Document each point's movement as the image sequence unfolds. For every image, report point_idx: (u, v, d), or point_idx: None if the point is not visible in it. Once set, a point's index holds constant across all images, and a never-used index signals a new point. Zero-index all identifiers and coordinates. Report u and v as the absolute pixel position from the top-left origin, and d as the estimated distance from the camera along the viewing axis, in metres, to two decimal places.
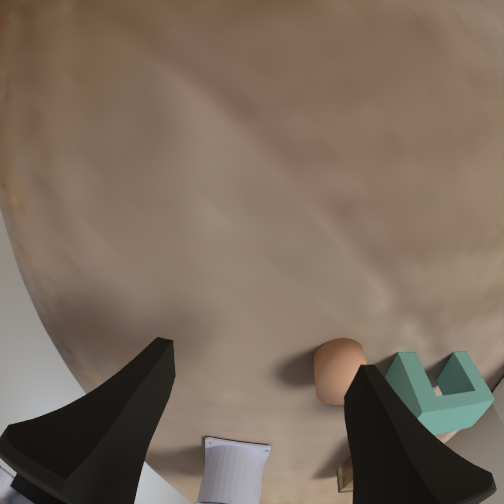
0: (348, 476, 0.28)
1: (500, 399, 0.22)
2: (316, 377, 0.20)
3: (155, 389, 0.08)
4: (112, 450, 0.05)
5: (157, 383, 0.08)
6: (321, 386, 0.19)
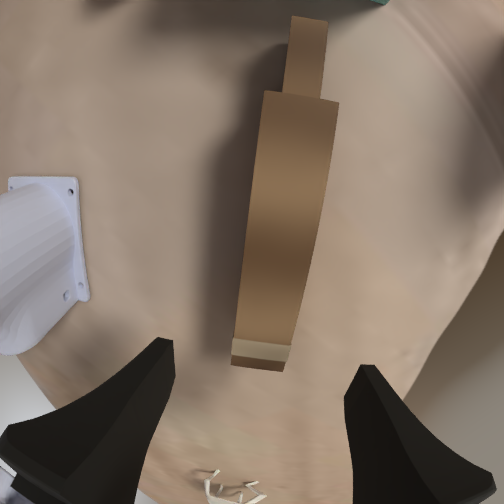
0: None
1: None
2: None
3: (154, 388, 0.08)
4: (112, 450, 0.05)
5: (157, 383, 0.08)
6: None
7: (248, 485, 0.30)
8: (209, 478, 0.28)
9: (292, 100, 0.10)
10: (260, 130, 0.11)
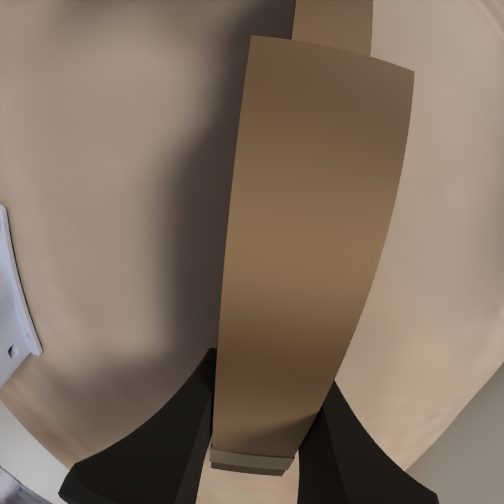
0: None
1: None
2: None
3: None
4: (189, 473, 0.05)
5: None
6: None
7: None
8: None
9: (316, 57, 0.04)
10: (242, 124, 0.05)
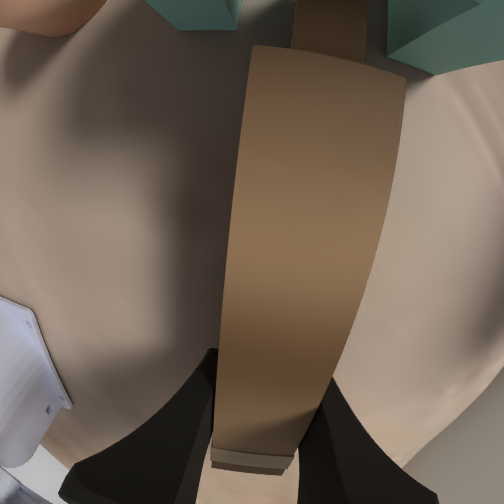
0: None
1: None
2: None
3: (214, 402, 0.08)
4: (189, 473, 0.05)
5: None
6: None
7: None
8: None
9: (313, 65, 0.04)
10: (244, 128, 0.05)
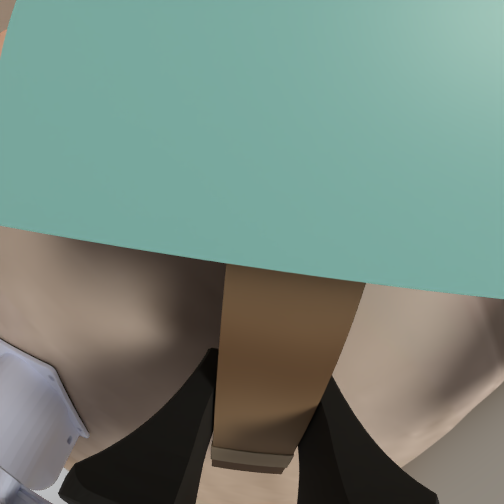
0: None
1: None
2: None
3: (214, 402, 0.08)
4: (190, 473, 0.05)
5: None
6: None
7: None
8: None
9: None
10: None
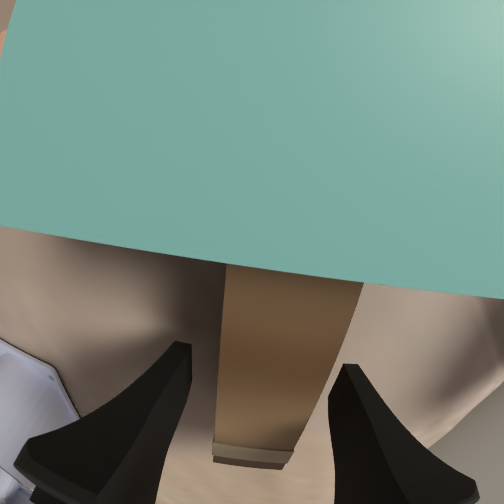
0: None
1: None
2: None
3: (175, 394, 0.08)
4: (137, 459, 0.05)
5: (177, 388, 0.08)
6: None
7: None
8: None
9: None
10: None
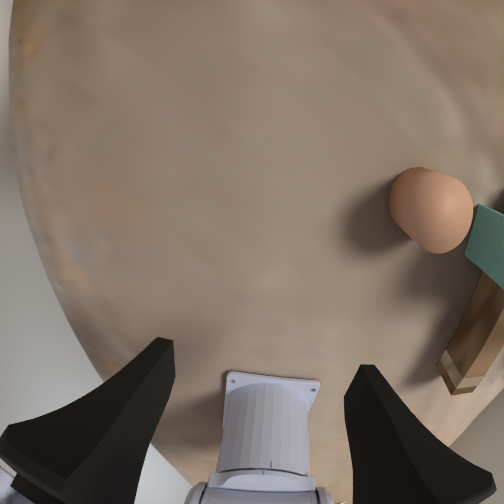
0: (469, 350, 0.17)
1: None
2: (406, 202, 0.14)
3: (154, 388, 0.08)
4: (112, 450, 0.05)
5: (157, 383, 0.08)
6: (418, 206, 0.13)
7: None
8: None
9: None
10: None
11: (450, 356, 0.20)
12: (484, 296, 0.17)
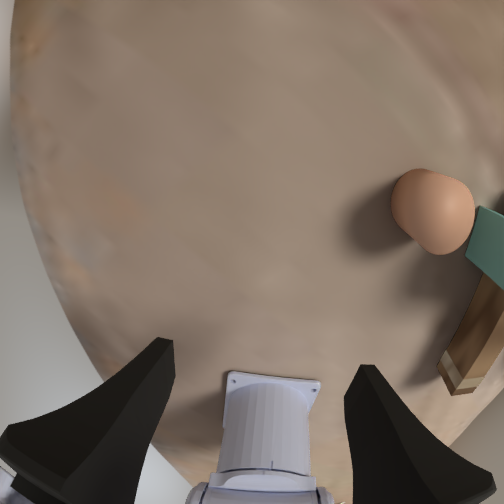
0: (469, 351, 0.17)
1: None
2: (408, 203, 0.14)
3: (155, 388, 0.08)
4: (112, 450, 0.05)
5: (157, 383, 0.08)
6: (420, 207, 0.13)
7: None
8: None
9: None
10: None
11: (450, 357, 0.20)
12: (485, 297, 0.17)
